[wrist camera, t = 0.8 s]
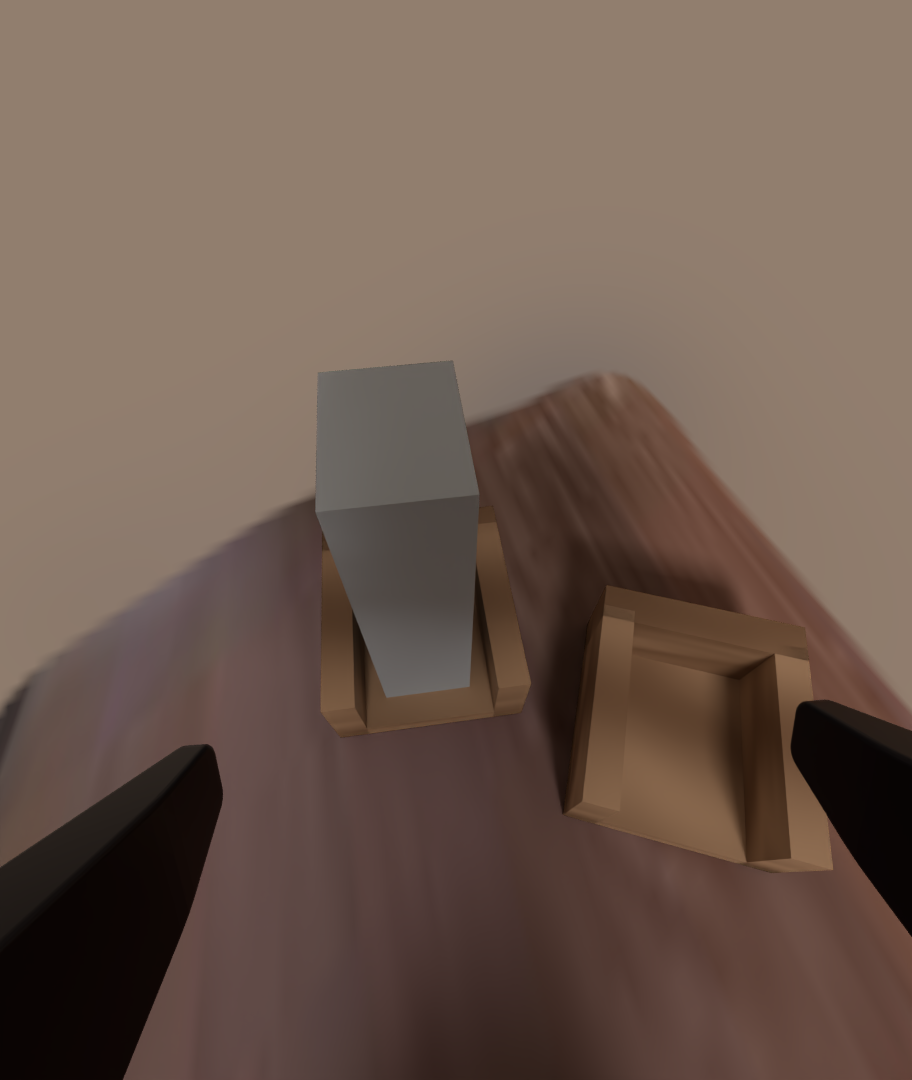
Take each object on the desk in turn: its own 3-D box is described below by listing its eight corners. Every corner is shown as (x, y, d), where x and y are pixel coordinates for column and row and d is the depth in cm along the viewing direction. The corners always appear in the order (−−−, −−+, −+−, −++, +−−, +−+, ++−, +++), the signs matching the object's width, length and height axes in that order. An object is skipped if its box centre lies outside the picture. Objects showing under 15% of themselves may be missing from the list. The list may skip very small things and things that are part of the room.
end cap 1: (521, 712, 22) (530, 684, 19) (340, 737, 22) (320, 712, 19) (488, 550, 27) (493, 505, 24) (338, 568, 26) (322, 524, 23)
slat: (469, 686, 22) (479, 494, 11) (386, 697, 22) (315, 512, 11) (455, 592, 25) (452, 360, 14) (380, 601, 24) (317, 372, 14)
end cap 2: (771, 872, 19) (832, 869, 16) (563, 815, 20) (582, 801, 17) (758, 662, 24) (804, 627, 20) (587, 623, 25) (606, 584, 21)
